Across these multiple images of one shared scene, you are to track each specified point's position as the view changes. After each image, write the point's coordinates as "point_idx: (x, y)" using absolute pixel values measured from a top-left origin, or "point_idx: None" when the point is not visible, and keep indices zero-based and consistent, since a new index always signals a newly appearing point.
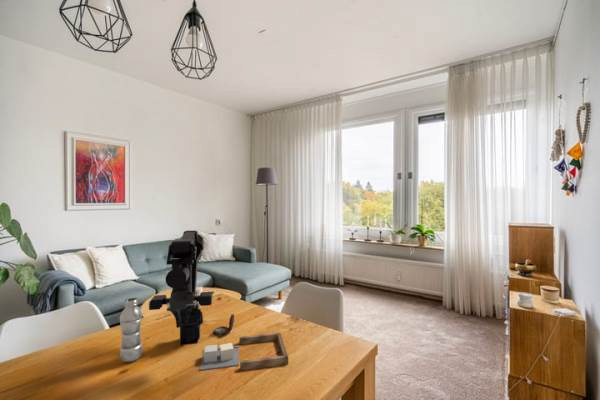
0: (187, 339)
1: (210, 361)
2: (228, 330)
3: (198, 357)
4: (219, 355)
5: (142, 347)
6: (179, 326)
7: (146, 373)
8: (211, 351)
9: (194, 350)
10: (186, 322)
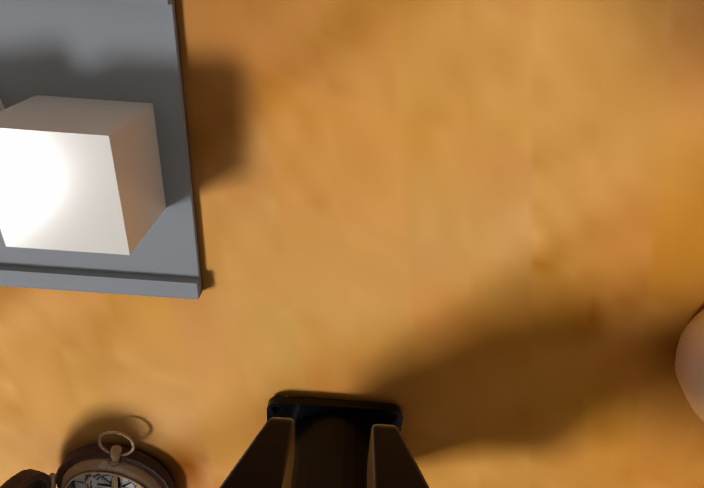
0: (339, 433)
1: (91, 99)
2: (61, 480)
3: (227, 215)
4: None
5: (696, 392)
6: (382, 433)
7: (646, 94)
8: (29, 130)
9: (277, 318)
10: (225, 481)
